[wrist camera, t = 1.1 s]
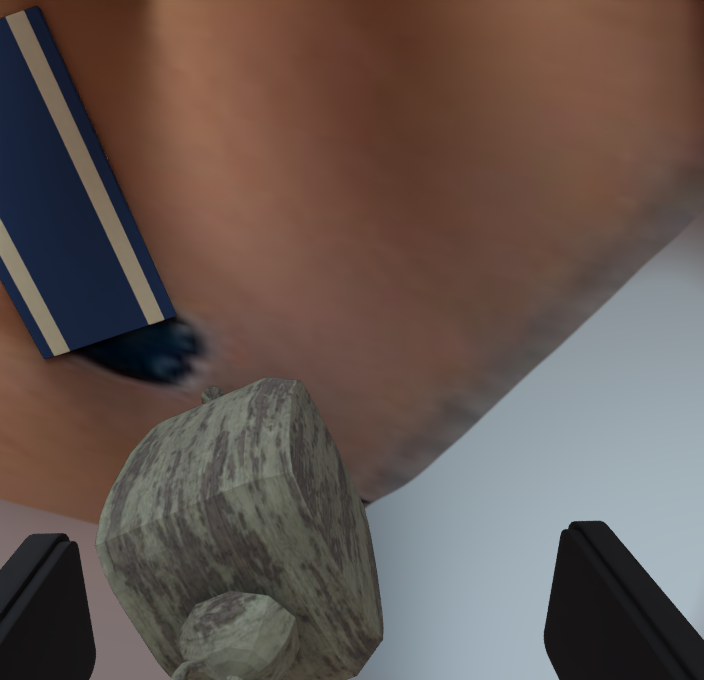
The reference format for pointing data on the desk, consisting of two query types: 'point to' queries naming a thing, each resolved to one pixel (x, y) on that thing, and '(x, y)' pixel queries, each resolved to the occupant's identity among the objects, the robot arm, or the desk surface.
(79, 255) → the cloth mat
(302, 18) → the desk surface
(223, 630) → the tabletop clock
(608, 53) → the desk surface
